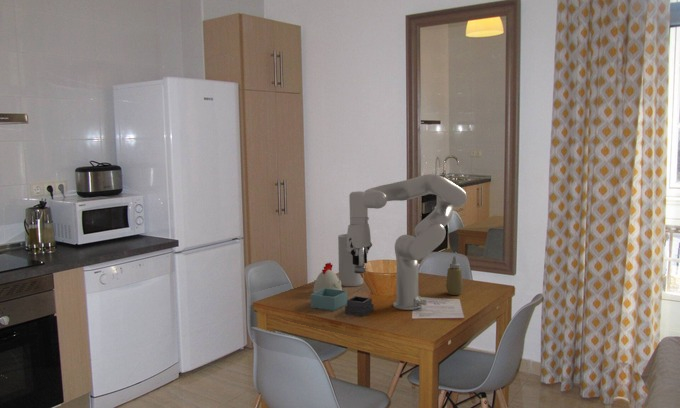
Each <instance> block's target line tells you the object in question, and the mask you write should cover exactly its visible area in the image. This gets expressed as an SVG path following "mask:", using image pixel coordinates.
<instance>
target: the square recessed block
mask: <svg viewBox="0 0 680 408" xmlns="http://www.w3.org/2000/svg"><path fill="white" fill-rule="evenodd" d="M372 300H373V299H372V298H371V297H366V296H358V295H355V296H353V297H351V298H349V299H348V300H347V305H345V306H344V310H345V311H344V313H345V314H347V315H354V316H355V315H356V316H361V317H365V316H367V315H369V314H370V313H372V312H373V311H375V310H374V309H375V307H374V305H375V304H374V303H373V301H372Z"/></svg>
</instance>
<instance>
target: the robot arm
mask: <svg viewBox="0 0 680 408" xmlns="http://www.w3.org/2000/svg"><path fill="white" fill-rule="evenodd" d="M427 195H435V196H436V204H435V205H436V206H435V207H434V209H433V210H432V212H430V213H429V214H428V215H426V217H425V218H423V219H422V220H421V221H419V223H418V224H416V226H415V228H414V235H415V236H414V235H411V234H402V235H400V236H399V237H397V238H396V240H395V242H394V255H395V260H396V300H395V301H394V302H393V303H392V306H393V307H394V308H395V309H398V310H405V311H413V310H414V309H415V310H418V309H417V308H419V309H421V308H422V306H427V305H428V301H427V299H422V298H421V295H419V268H420V267H419V261H421V260H423V259H425V258H427V256H429V255H430V254H431V253H432V252H433V251H434V250H436V249H437V248H438V247H439V246H440V245H441V244H442V243H443V242H444V240H445V238H446V233H447V232H446V226H447V225H448V224H449V223H450V221H451V219H452V217H453V211H454V208H461V207H463V206H464V205H465V204H466V203H467V200H468V195H467V192H466V191H465V190H464V189H463V188H462V187H461V186H459V185H457V184H455V183H454V182H453V181H451V180H449V179H448V178H446V177H444V176H442V175H439V174H433V173H432V174H430V173H429V174H427V173H426V174H423V175H420V176H416V177H413V178H410V179H409V178H408V179H406V180H400V181H397V182H391V183H388V184H387V183H386V184H381V185H378V186H375V187H370V188H368V189H366V190H364V191H361V190H359V191H357V190H356V191H351V192H350V193H349V196H348V198H349V200H348V202H349V224H348V226H347V233H346V234H347V248H346V250H347V251H349V252H350V253H351V255H353V264H354V265H359V256H357V255H358V248H362V247H364V262H365V264H368V254H369V251H370V249H371V248H372V246H373V243H372V242H371V241H372V239H371V229H370V224H369V220H370V217H369V215H368V213H369V212H368V211H369V210H368V209H377V210H378V209H382V208H384V207H385V206H386V205H387V202H392V201H394V202H395V201H396V202H398V201H400V202H401V201H403V202H404V201H409V200H412V199H416V198H419V197H423V196H427ZM351 248H352V249H351ZM354 250H355V251H354ZM420 307H421V308H420Z"/></svg>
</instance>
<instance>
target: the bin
mask: <svg viewBox="0 0 680 408" xmlns="http://www.w3.org/2000/svg"><path fill="white" fill-rule="evenodd" d="M348 294H349V291H348V290H343V289H342V290H336V289H328V288H324V289H321V290H319V291H317V292H315V293H313V292H312V293H311V294H310V308H311V309H317V308H318V309H317V310H323V309H324V311H329V312H330V311H332V312H336V311H338V310H340V309H342V308H345V306H347V300H349V299H348V298H349V297H348V296H349V295H348Z"/></svg>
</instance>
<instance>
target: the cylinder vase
mask: <svg viewBox="0 0 680 408" xmlns="http://www.w3.org/2000/svg"><path fill="white" fill-rule="evenodd" d="M337 237H338V238H337V240H338V241H337V242H338V244H337V248H338V253H337V254H338V279H339V280H341V287H342V286H343V287H359V286H362V285H363V284H364V277H363V278H362V277H361V275H360V273H355V272H354V266H355V265H354V264H353V255H351V253H350V252H349V251H347V250H346V248H347V233H342V234H339V235H338V236H337ZM351 249H352V248H351ZM354 251H355V250H354Z"/></svg>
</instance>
